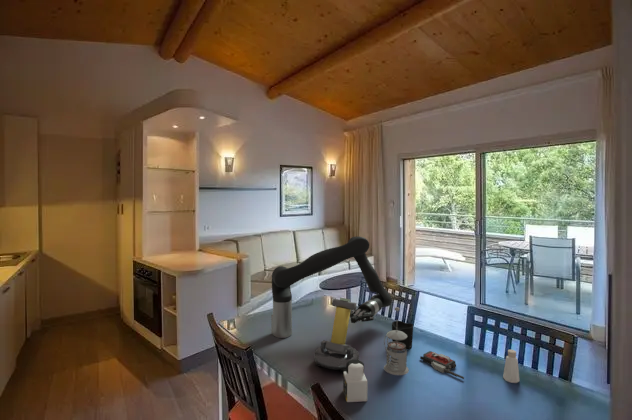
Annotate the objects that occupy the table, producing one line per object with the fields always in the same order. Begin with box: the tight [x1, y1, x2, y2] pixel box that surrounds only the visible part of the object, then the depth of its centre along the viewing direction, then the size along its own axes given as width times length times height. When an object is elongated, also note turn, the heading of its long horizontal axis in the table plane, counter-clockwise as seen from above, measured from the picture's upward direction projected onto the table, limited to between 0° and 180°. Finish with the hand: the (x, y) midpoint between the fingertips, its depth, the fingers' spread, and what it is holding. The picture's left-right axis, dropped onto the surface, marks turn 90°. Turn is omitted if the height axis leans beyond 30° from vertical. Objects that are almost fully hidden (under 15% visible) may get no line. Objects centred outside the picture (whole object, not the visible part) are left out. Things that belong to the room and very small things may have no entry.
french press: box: [383, 306, 410, 376], centre depth 141 cm, size 10×12×25 cm
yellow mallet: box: [325, 297, 357, 355], centre depth 146 cm, size 10×6×22 cm, turn 58°
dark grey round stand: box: [314, 339, 360, 375], centre depth 144 cm, size 18×18×8 cm
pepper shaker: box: [502, 349, 520, 384], centre depth 133 cm, size 5×5×11 cm
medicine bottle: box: [342, 359, 368, 403], centre depth 122 cm, size 7×7×12 cm
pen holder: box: [391, 320, 414, 351], centre depth 161 cm, size 9×9×10 cm
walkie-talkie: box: [419, 350, 465, 380], centre depth 142 cm, size 9×4×20 cm
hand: (352, 320), depth 156 cm, fingers closed
